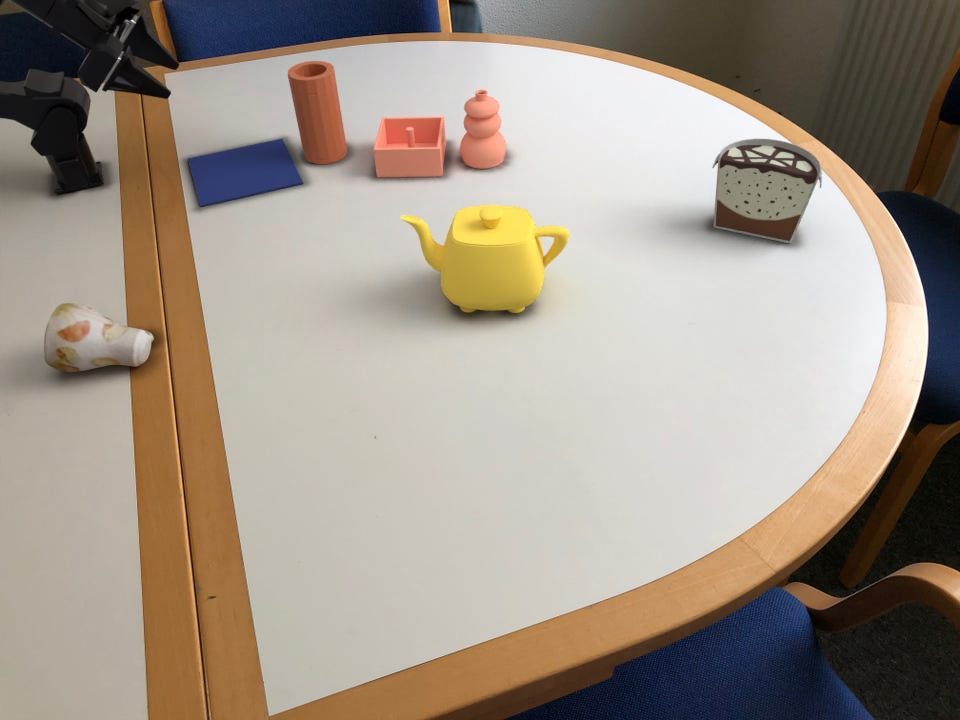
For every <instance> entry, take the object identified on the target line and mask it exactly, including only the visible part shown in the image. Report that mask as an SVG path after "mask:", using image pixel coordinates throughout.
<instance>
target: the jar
mask: <svg viewBox="0 0 960 720" xmlns="http://www.w3.org/2000/svg"><path fill="white" fill-rule="evenodd" d="M287 78H288V84H289V88H290V94H291V98H292V103H293V108H294V112H295V113H294V114H295V118H296V123H297V127H298V132H299V137H300V142H301V147H302V151H303V155H304V159H305V160H306V161H307V162H309V163H311V164H315V165H330V164H333V163H337V162H339V161H341V160H343V159H344V158H345V157H346V156H347V155H348V148H347V139H346V133H345V127H344V121H343V115H342V110H341V103H340V97H339V90H338V84H337V78H336V71H335V67H334V65H333V64H331V62H327V61H321V60H308V61H304V62H299V63H296V64H295V65H293V66H291V67H290V68H289V69H288V70H287Z"/></svg>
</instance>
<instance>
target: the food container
mask: <svg viewBox="0 0 960 720" xmlns="http://www.w3.org/2000/svg"><path fill="white" fill-rule="evenodd" d="M715 166H717V169H716V170H717V171H716V183H715V185H716V187H715V198H714V199H715V200H714V213H713V224H712V225H713V226H712V228H714V229H719V230H723V231H728V232H733V233H738V234H744V235H748V236H751V237H758V238H762V239H765V240H772V241H776V242H781V243H786V244H792V243H793V240H794V237H795V236H796V233H797V231H798V228H799V226H800V224H801V221H802V219H803V217H804V214H805V211H806V209H807V207H808V205H809V202H810V200H811V197H812V195H813V193H814V191H815V188H816V185H817V184H818V181H819V189H822V184H823V170H822V165H821V161H820V160H819V159H818V158H817V157H816V156H815V155H814V154H813V153H812V152H811V151H809V150H807V149H806V148H804V147H802V146H800V145H797V144H794V143H791V142H788V141H784V140H779V139H771V138H747V139H741V140H736V141H735V142H732V143H729V144H728V145H725V146H724V147H723V148H722V149H721V150H720V151H719V153H718V155H716V157H715V159H714V162H713V165H712V167H711V168H712V169H714V168H715Z"/></svg>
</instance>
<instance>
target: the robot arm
mask: <svg viewBox="0 0 960 720" xmlns="http://www.w3.org/2000/svg"><path fill="white" fill-rule="evenodd" d="M8 1H9V2H10V3H12V4H14V5H15V6H16V7H18V8H20V9H21V10H23V11H24V12H26V13H27V14H29V15H31V16H32V17H34V18H35V19H37V20H39V21H40V22H42V23H43V24H45V25H46V26H48V27H49V28H51V29H50V31H49V32H48V34H49V35H50V36H52V37H54V38H55V39H58V38H59V37H60V35H62V36H63V37H65V38H67V39H68V40H70V41H71V42H73V43H75V44H76V45H77V46H79V47H80V48H82V49H84V50H83V52H82V53H81V56H83V57H85V58H84V60H83V61H82V63H81V65H80V66H79V69H78V70H77V73H76V74H77V76H78V79H79V80H76V79H74V78H72V77H68V76H65V72H64V71H59V72H48V71H44V70H40V69H37V68H30V69H28V72H27V75H26V77H25V80H20V81H13V82H9V81H2V80H1V81H0V119H4V120H10V121H14V122H17V123H18V124H21V125H22V126H24V127H27V128H29V129H31V130H32V136H31V140H30V146H31V147H32V148H33V149H34V150H35V151H36V152H37V153H38V155H39V156H41V157H45V159H46V161H47V163H48V165H49V168H50V169H51V172H52V174H53V192H54V194H55V195H60V194H65V193H71V192H74V191H79V190H83V189H84V190H85V189H89V188H94V187H98V186H102V185H104V183H105V179H104V169H103V164H102V161H100V160H99V161H96V159H95V157H94V156H93V155H94V154H93V152H92V150H91V148H90V145H89V143H88V140H87V138H86V136H85V133H84V131H85V129H86V128H87V126H88V119H89V114H90V108H91V102H92V101H91V96H90V94H89V92H88V90H87V89H89V90H91V91H92V92H94V93H97V92H98V91H99V90H100V88H101V86H102V88H101V91H103V92H104V93H105V92H107V91H112V92H121V93H128V94H135V95H142V96H146V97H147V96H148V97H153V98H159V99H165V100H167V99H169V98H170V96H171V95H172V90H170V89H169V88H168V87H167V86H166V85H164V84H163V83H162V82H161V81H160V80H159V79H158V78H156V77H155V76H153V75H152V74H151V73H150V72H148V71H147V70H146V69H145V68H143V67H142V65H140V64H139V63H137V61H136V60H135V58H138V59H141V60H144V61H147V62H149V63H153V64H155V65H158V66H160V67H163V68H165V69H169V70H171V71H172V70H173V71H177V70H178V69H179V67H180V62H179V61H178V60H177V59H176V58H175V56H174V55H173V54H172V53H171V52H170V51H169V50H168V49H167V47H165V45H164V44H163V43H162V42H161V41H160V40H159V39H158V37H157V36H156V35H155V34H154V33H153V32H152V30H151V29H150V27H149V24H148V19H147V12H146V10H145V9H143V10H142V11H141V8H142V6H143V4H144V3H143V2H141V1H140V0H8ZM5 2H6V0H0V8H1V7H2V6H3V5H4V4H5ZM140 11H141V13H140V14H139V12H140ZM137 14H139V16H137Z"/></svg>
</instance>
